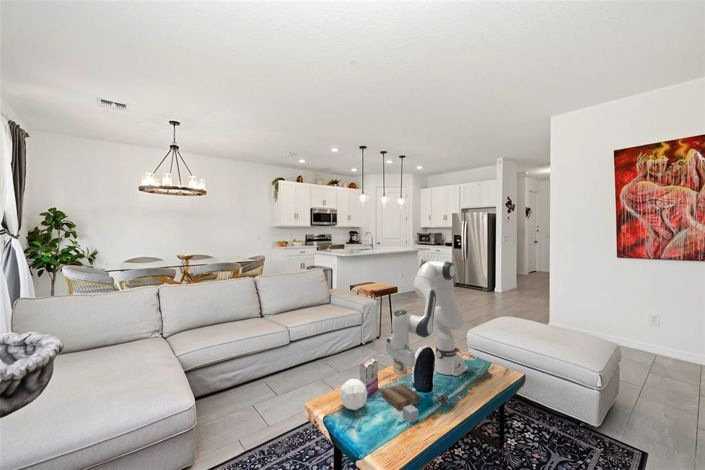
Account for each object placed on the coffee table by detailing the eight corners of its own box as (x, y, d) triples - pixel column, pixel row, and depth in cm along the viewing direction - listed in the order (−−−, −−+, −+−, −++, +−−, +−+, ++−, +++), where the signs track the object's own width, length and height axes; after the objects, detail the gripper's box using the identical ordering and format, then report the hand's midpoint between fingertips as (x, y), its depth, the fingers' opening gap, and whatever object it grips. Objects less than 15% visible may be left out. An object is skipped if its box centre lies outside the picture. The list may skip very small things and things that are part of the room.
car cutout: (440, 408, 150) (440, 399, 150) (433, 401, 156) (433, 392, 156) (466, 404, 154) (466, 395, 154) (459, 397, 160) (458, 388, 160)
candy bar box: (370, 385, 171) (370, 357, 171) (378, 388, 168) (378, 359, 168) (359, 394, 162) (359, 364, 162) (367, 397, 159) (366, 367, 159)
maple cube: (400, 369, 160) (400, 360, 160) (407, 373, 156) (407, 363, 156) (393, 371, 158) (393, 362, 158) (399, 375, 154) (399, 365, 154)
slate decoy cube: (411, 414, 145) (411, 404, 145) (418, 420, 140) (418, 409, 140) (403, 417, 142) (403, 407, 142) (410, 423, 138) (410, 412, 138)
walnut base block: (402, 390, 167) (402, 383, 167) (419, 403, 155) (419, 395, 155) (381, 397, 160) (381, 390, 160) (398, 411, 148) (398, 403, 148)
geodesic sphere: (371, 416, 143) (371, 386, 143) (342, 420, 141) (341, 390, 141) (364, 399, 158) (364, 372, 158) (337, 402, 156) (337, 374, 155)
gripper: (418, 347, 149) (418, 375, 150) (393, 335, 167) (393, 359, 167) (408, 350, 146) (408, 378, 146) (384, 337, 164) (384, 362, 164)
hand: (400, 368), depth 157 cm, fingers closed on maple cube, 5 cm apart
